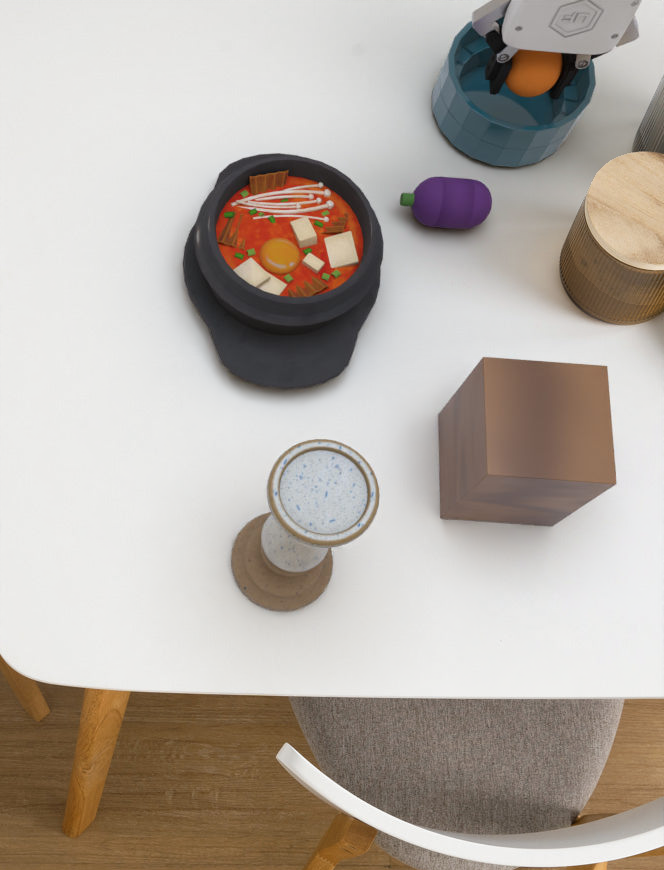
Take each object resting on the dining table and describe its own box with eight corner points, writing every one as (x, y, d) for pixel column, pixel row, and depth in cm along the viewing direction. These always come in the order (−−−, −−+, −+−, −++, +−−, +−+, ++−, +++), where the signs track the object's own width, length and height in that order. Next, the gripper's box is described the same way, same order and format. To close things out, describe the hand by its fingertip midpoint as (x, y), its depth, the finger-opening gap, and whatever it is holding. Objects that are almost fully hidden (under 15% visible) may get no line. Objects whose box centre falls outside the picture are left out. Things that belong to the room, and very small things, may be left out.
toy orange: (547, 66, 93) (570, 25, 88) (550, 111, 92) (573, 72, 87) (493, 62, 93) (514, 21, 88) (495, 107, 92) (516, 67, 87)
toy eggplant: (481, 199, 95) (498, 170, 91) (483, 240, 94) (500, 212, 90) (395, 193, 95) (407, 163, 91) (395, 233, 94) (408, 205, 90)
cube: (546, 421, 89) (607, 365, 77) (552, 526, 86) (617, 484, 74) (437, 414, 88) (483, 356, 77) (440, 518, 85) (487, 474, 74)
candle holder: (234, 614, 82) (264, 556, 63) (226, 516, 85) (254, 431, 66) (336, 609, 83) (397, 550, 63) (325, 511, 85) (381, 426, 66)
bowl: (564, 59, 101) (590, 15, 95) (572, 175, 97) (600, 136, 91) (429, 49, 101) (447, 4, 95) (431, 164, 96) (450, 124, 91)
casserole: (182, 163, 96) (186, 104, 88) (368, 168, 96) (389, 110, 88) (181, 395, 88) (185, 354, 80) (383, 399, 89) (408, 359, 81)
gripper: (505, -52, 74) (434, 110, 91) (727, -35, 74) (614, 124, 91) (502, -127, 76) (433, 46, 93) (717, -110, 76) (608, 59, 93)
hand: (523, 83), depth 92 cm, fingers closed on toy orange, 5 cm apart
